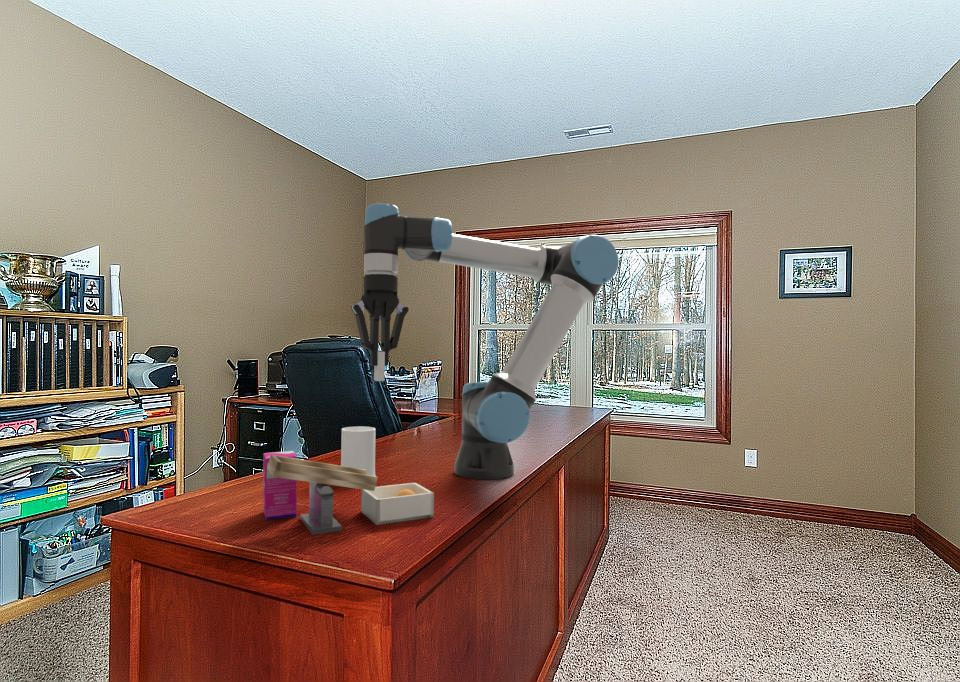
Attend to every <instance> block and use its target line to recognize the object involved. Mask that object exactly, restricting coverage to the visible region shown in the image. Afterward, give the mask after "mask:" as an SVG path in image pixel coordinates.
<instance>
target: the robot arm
mask: <svg viewBox="0 0 960 682" xmlns="http://www.w3.org/2000/svg"><path fill="white" fill-rule="evenodd" d="M364 211H365V213H364V225H363V226H364V227H363V229H364V230H363V236H364V237H363V247H364V248H363V272H364V273H365V275H364V276H363V291H362V292H363V294H362V296H361V299H360V301H359V302H357V303H356V304H352V305H351V306H350V309H351V311H352V313H353V314H354V316H355V320H356V324H357V329H358V330H357V331H358V333H359V339H360V343H361V344H360V345H361V347H362V348H363V349H366V350H369V351H370V352H369V353H370V356H369V357H370V359H369V364H370V366H373V367H374V369H373V381H375V382H385V367H387V366H389V361H390V356H389V355H390V351H391V350H394V349H397V347H398V344H399V340H400V336H401V331H402V328H403V324H404V320H405V317H406V315H407V314H408V312H409V307H408V306H404V305H403V304H401V303H400V298H399V296H398V284H399V283H398V281H399V280H398V279H399V278H398V277H397V274H398V273H399V250H402V251H403V250H404V252H405V254H406V256H407V257H408V258H409V259H411V260H413V261H416V262H423V261H429V262H438V263H444V264H451V265H454V266H455V265H456V266H462V267H468V268H473V269H479V270H485V271H486V270H487V271H491V272H496V273H497V272H498V273H502V274H503V273H504V274H510V275H513V276H514V275H516V276H522V277H527V278H532V281H534V282H535V283H541V284H545V285H548V286H549V285H550V286H551V288H550V289H549V291H548V293H547V295H546V297H544V300H543V301H542V304H541V305H540V306H539V309H538V310H537V311H536V314H535V315H534V317H533V318H532V320H531V322H530V324H529V325H528V328H527V329H526V330H525V332H524V334H523V336H522V338H521V339H520V341H519V343H518V344H517V346H516V348H515V349H514V351H513V352H512V354H511V355H510V357H509V360H508V361H507V363H506V364H505V367H504V368H503V370H502V371H500V372H496V373H493V374H492V375H491V378H490V379H489V381H475V382H467V383H465V384H464V385H463V387H462V393H461V398H462V401H461V404H462V407H461V408H462V409H461V411H462V412H461V414H462V415H461V444H460V447H459V450H458V453H457V456H456V459H455V462H454V474H455V475H456V476H459V477H461V478H468V479H474V480H499V478H500V479H505V477H506V478H509V477H512V476H514V474H515V473H514V472H515V470H514V469H515V465H514V462H513V458H512V455H511V451H510V447H509V445H508V443H511V442H514V441H516V440H518V439H519V438H520V437H521V436H523V434H524V433H525V432H526V431H527V429H528V427H529V424H530V420H531V417H530V416H531V415H530V414H531V413H530V412H531V410H532V408H533V406H534V404H535V403H536V401H537V396H536V392H535V390H536V388H537V386H538V385H539V382H540V380H542V377H543V375H544V374H545V372H546V370H547V368H548V366H549V365H550V364H551V361H552V360H553V358H554V356H555V355H556V352H557V351H558V349H559V348H560V346H561V344H562V343H563V340H564V339H565V338H566V336H567V334H568V332H569V330H571V329H570V328H571V327H572V325H573V323H574V321H575V320H576V318H577V316H578V314H579V313H580V311H581V310H582V308H583V306H584V304H587V303H590V302H593V301H594V300H595V298H596V297H597V295H598V293H599V291H600V289H601V288H602V286H603V285H604V284H606V283H608V282H609V281H610V280H611V279H613V278H614V276H615V275H616V273H617V272H618V269H619V256H618V253H617V249H616V248H615V246H614V245H613V243H612V242H611V241H610V240H609V239H607V238H606V237H604V236H602V235H598V234H589V235H583V236H581V237H579V238H577V240H574V241H572V242H570V243H567V244H565V245H559V246H548V245H540V246H539V247H537V248H536V247H531V246H526V245H519V244H515V243H514V244H513V243H508V242H502V241H495V240H490V239H486V238H479V237H473V236H468V235H462V234H456V233H453V225H452V221H451V220H450V219H448V218H441V217H438V216H435V217H432V216H431V217H429V216H409V215H402V214H400V211H399V208H398V206H397V205H395V204H389V203H385V202H382V203H381V202H379V203H377V202H376V203H372V204H368V205H367V207H366V208H365V210H364ZM364 308H365V309H364ZM365 310H366V312H367V313H368V315H369V322H370V323H369V332H368V328H367V322H366V317H365V313H364V311H365ZM394 311H395V312H396V315H395V317H394V322H393V325H392V329H391V320H392V314H393V313H394ZM380 321H381V322H380ZM380 324H381V325H380ZM379 327H380V328H379ZM379 329H380V333H379ZM379 337H380V339H379ZM379 340H380V343H379ZM379 344H380V351H379ZM511 475H512V476H511Z"/></svg>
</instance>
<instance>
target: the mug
mask: <svg viewBox="0 0 960 682" xmlns="http://www.w3.org/2000/svg"><path fill="white" fill-rule="evenodd" d="M376 431H377V430H376V427H372V426H362V425H361V426H360V425H359V426H347V427H342V428H341V436H340V437H341V445H340V446H341V447H340V448H341V449H340V450H341V451H340V466H346V467H352V468H358V469H365V470H367V473H366V475H371V476H376ZM376 477H377V476H376Z"/></svg>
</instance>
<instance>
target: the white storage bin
mask: <svg viewBox="0 0 960 682" xmlns="http://www.w3.org/2000/svg"><path fill="white" fill-rule="evenodd" d="M405 489H408V490H411V491H413V492H414V493H415V495H406V496H398V497H397V495H398V493H399V492H400V491H402V490H405ZM360 496H361V497H360V499H361V503H360V506H361V507H360V511H361V513H362V514H363V515H364V516H365V517H367V518H368V519H369V520H370V521H371V522H372V523H373V524H375V525H376V526H379V525H380V526H381V525H386V524H394V523H400V522H407V521H414V520H421V519H428V518H434V517H435V516H434V510H435V508H434V506H435V492H432V491H431V490H430V489H427V488H426V487H424V486H422V485H421V484H419V483H417V482H408V483H407V482H406V483H400V484H388V485H380V486H375V490H374V491H371V490H364V489H361V495H360Z"/></svg>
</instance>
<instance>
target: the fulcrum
mask: <svg viewBox="0 0 960 682" xmlns="http://www.w3.org/2000/svg"><path fill="white" fill-rule="evenodd" d="M308 485H309V493H308V494H309V500H308V501H309V502H308V503H309V504H308V505H309V506H308V513H301V514H300V515H299V516H300V518H299V519H300V521H301V522H302V523H303V524H304V526H305V527H306V529H307V530H308V532H309V533H310V534H311V535H312V536H314V535H322V534H328V533H336V532H343V531H342V530H343V526H342V525H341V523H340V522H339V521H338V520H337V519H336V518H335V517H334V495H335V494H334V493H335V492H334V489H333V488H332V487H330V486H329V485H328V484H321V483H314V482H308Z"/></svg>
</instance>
